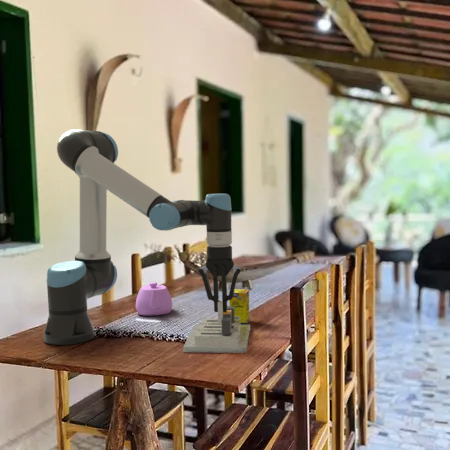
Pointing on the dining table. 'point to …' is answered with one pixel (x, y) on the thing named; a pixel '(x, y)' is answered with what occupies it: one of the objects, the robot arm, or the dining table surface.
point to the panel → (219, 347)
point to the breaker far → (232, 311)
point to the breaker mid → (228, 315)
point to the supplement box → (241, 305)
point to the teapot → (153, 300)
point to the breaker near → (226, 325)
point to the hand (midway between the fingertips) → (220, 322)
